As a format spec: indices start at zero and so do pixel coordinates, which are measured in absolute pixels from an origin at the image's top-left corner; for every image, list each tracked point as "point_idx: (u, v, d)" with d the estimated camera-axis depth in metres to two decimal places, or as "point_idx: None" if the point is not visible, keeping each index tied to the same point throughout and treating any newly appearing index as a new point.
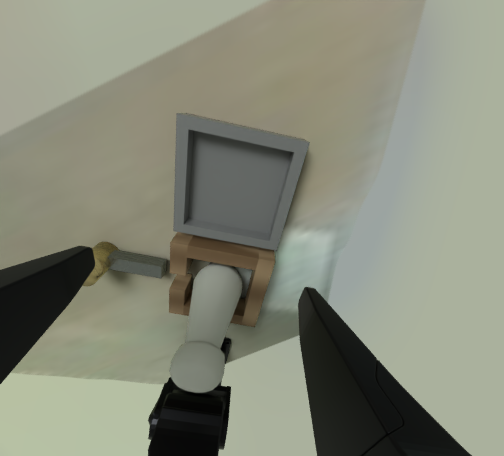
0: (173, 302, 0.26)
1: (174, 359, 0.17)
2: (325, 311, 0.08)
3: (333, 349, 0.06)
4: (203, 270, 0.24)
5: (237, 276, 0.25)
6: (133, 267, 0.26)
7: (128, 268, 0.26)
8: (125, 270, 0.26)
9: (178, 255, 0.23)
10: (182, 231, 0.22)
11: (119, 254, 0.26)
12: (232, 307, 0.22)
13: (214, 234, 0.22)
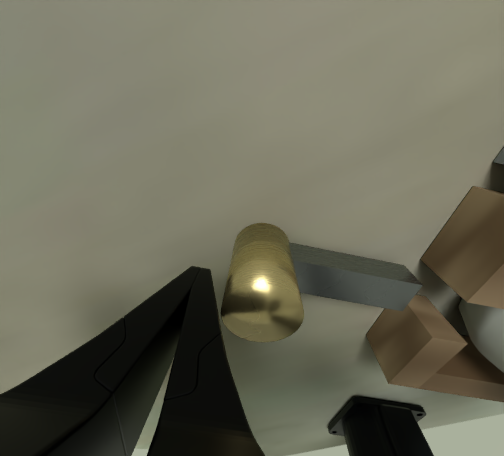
0: (416, 365, 0.11)
1: None
2: (201, 289, 0.07)
3: None
4: None
5: None
6: (347, 286, 0.10)
7: (333, 288, 0.10)
8: (322, 292, 0.10)
9: None
10: None
11: (311, 254, 0.10)
12: None
13: None
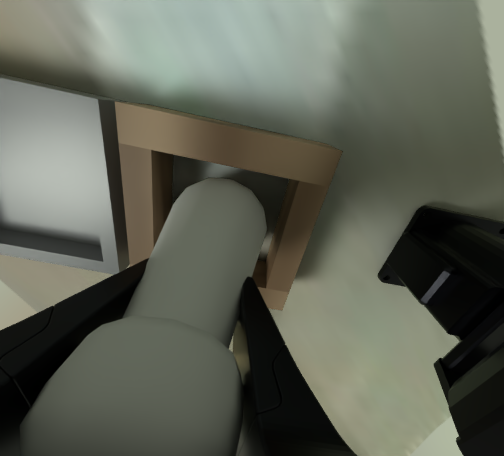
0: None
1: None
2: (252, 298, 0.07)
3: (245, 334, 0.06)
4: None
5: (187, 188, 0.12)
6: None
7: None
8: None
9: None
10: (116, 264, 0.15)
11: None
12: (186, 219, 0.09)
13: (104, 221, 0.13)
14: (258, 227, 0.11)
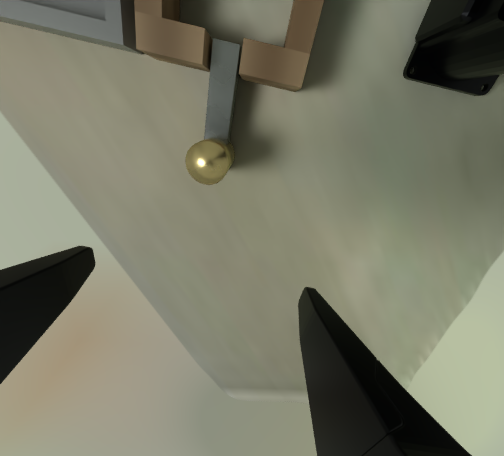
0: (274, 71, 0.14)
1: None
2: (325, 311, 0.08)
3: (333, 349, 0.06)
4: None
5: None
6: (219, 99, 0.16)
7: (222, 109, 0.16)
8: (226, 116, 0.16)
9: (160, 37, 0.13)
10: (119, 25, 0.13)
11: None
12: None
13: None
14: None
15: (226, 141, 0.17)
